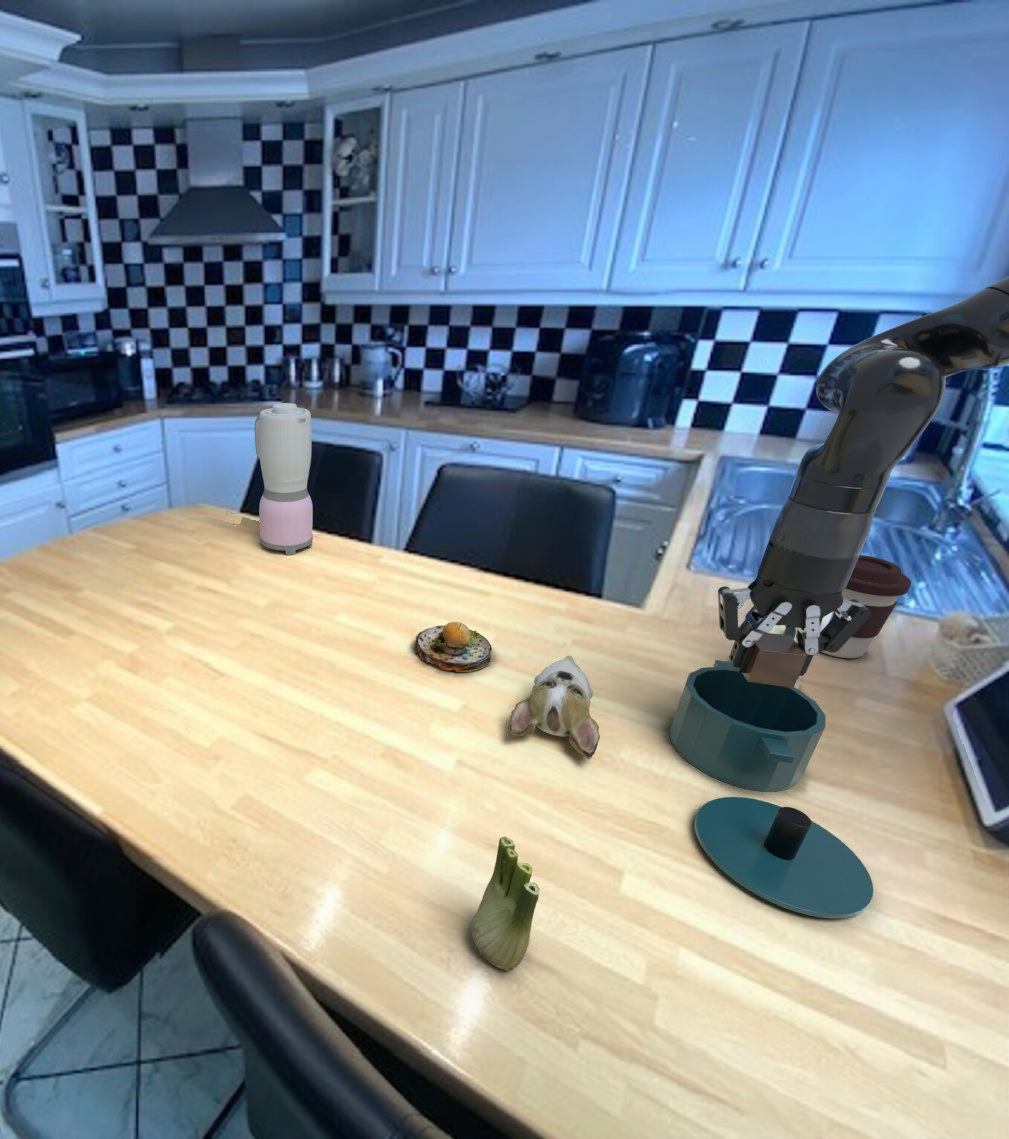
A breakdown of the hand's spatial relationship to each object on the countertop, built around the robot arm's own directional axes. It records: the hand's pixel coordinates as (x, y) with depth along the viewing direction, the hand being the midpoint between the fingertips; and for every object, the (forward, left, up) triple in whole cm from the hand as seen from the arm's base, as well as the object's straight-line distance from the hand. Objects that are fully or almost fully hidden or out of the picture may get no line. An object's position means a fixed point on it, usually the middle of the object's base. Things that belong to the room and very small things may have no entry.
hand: (763, 671), depth 74 cm
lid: (+1, +17, -12) cm, 21 cm away
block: (0, 0, 0) cm, 0 cm away
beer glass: (-10, -18, -13) cm, 24 cm away
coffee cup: (-23, -32, -13) cm, 41 cm away
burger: (+35, -14, -13) cm, 40 cm away
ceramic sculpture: (+21, +1, -13) cm, 25 cm away
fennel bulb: (+29, +36, -13) cm, 48 cm away
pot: (0, 0, -12) cm, 12 cm away
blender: (+75, -51, -13) cm, 92 cm away
